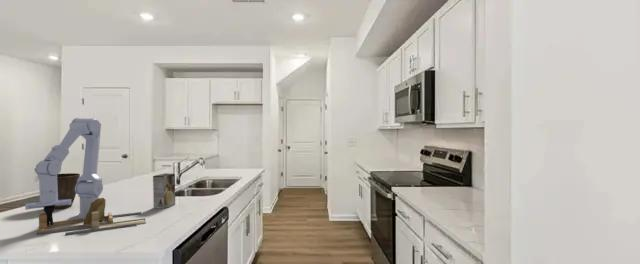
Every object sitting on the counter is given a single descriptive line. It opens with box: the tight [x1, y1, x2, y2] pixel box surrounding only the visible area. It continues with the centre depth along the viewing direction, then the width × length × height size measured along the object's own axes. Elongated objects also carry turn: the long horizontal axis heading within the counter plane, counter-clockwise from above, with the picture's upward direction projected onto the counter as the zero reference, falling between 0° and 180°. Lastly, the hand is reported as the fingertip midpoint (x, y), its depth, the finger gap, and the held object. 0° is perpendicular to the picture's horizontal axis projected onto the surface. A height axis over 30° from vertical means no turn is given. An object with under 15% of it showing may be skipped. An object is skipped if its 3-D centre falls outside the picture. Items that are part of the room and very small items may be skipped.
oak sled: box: [36, 212, 114, 233], centre depth 148 cm, size 12×25×6 cm, turn 123°
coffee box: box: [152, 172, 176, 209], centre depth 182 cm, size 9×6×16 cm
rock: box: [82, 197, 106, 225], centre depth 151 cm, size 11×9×10 cm
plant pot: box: [54, 172, 81, 210], centre depth 178 cm, size 15×15×16 cm
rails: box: [36, 211, 146, 236], centre depth 148 cm, size 20×37×1 cm, turn 123°
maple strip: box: [91, 211, 147, 229], centre depth 148 cm, size 4×19×6 cm, turn 124°
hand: (49, 224), depth 143 cm, fingers closed, pressing on oak sled
